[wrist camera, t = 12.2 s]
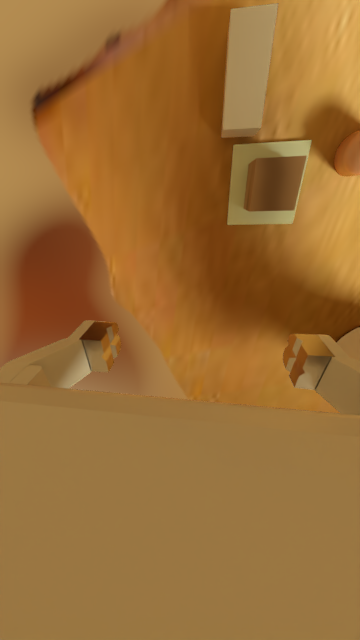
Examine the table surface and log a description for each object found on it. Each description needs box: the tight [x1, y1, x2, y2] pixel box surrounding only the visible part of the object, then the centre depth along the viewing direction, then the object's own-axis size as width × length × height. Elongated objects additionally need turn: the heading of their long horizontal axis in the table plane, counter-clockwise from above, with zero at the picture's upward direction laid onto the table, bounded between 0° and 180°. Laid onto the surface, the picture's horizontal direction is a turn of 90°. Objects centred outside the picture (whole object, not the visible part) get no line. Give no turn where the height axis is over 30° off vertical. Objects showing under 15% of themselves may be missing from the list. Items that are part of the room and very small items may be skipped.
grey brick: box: [221, 3, 278, 138], centre depth 22 cm, size 8×4×4 cm, turn 1°
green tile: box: [227, 140, 312, 225], centre depth 27 cm, size 9×9×1 cm
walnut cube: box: [243, 156, 306, 212], centre depth 25 cm, size 5×5×5 cm
